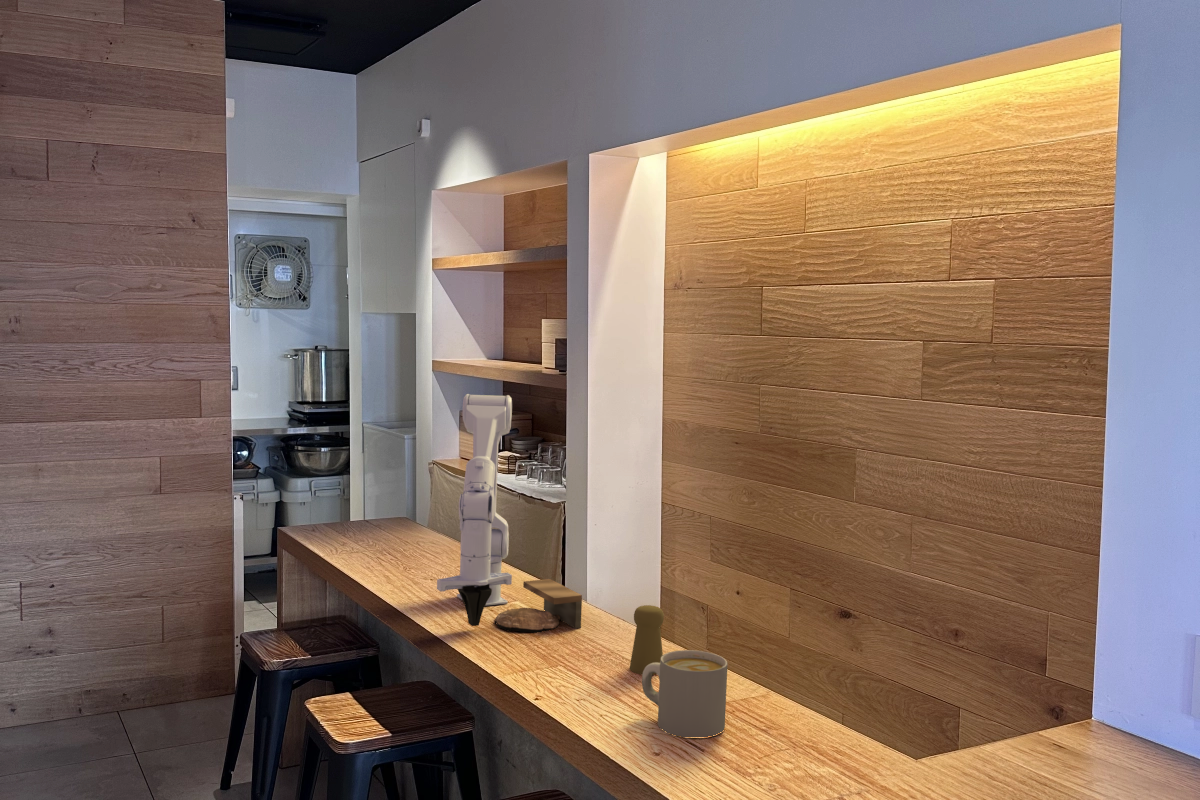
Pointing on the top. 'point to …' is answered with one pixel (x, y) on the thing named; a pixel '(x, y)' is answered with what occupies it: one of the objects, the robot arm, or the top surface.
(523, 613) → the shell
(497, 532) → the robot arm
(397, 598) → the top surface
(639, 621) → the olive pepper mill
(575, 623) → the walnut shelf
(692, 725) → the coffee mug
